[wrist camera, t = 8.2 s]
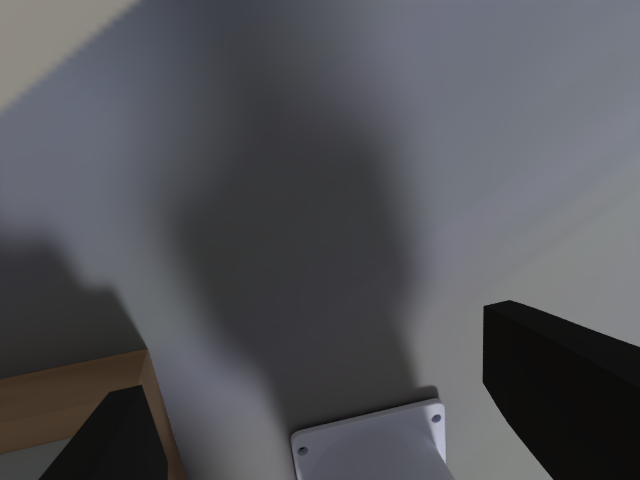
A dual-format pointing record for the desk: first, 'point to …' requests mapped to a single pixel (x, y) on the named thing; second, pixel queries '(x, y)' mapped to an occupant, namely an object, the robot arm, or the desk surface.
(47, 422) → the brown square box
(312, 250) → the desk surface
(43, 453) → the slate block
